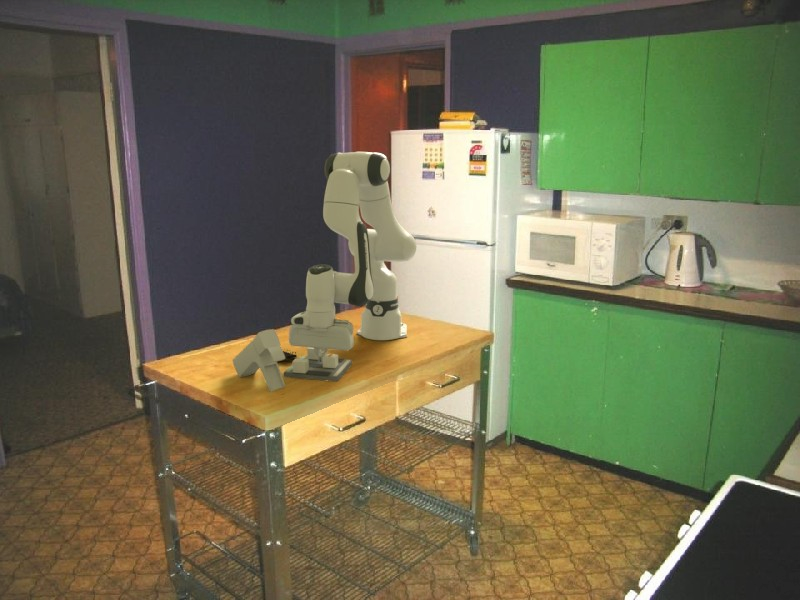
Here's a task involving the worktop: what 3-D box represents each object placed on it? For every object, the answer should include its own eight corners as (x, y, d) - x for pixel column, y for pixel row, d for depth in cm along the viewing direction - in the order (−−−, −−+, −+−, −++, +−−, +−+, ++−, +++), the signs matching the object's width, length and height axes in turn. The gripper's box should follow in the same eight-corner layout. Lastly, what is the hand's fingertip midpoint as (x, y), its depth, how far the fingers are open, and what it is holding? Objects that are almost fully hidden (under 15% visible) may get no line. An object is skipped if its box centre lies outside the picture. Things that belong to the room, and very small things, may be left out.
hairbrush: (270, 335, 236) (302, 350, 215) (271, 345, 236) (302, 361, 216) (248, 339, 231) (278, 355, 211) (249, 349, 232) (279, 366, 211)
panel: (302, 360, 218) (302, 355, 217) (352, 364, 214) (352, 359, 214) (283, 377, 202) (283, 372, 201) (337, 381, 198) (336, 376, 198)
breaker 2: (310, 356, 216) (310, 345, 215) (322, 357, 215) (322, 346, 215) (307, 358, 213) (307, 348, 213) (319, 359, 213) (319, 349, 212)
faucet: (249, 355, 207) (275, 326, 193) (269, 402, 203) (297, 376, 189) (231, 359, 203) (256, 330, 189) (250, 407, 198) (278, 381, 185)
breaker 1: (296, 369, 204) (296, 358, 203) (308, 370, 203) (308, 359, 202) (292, 372, 201) (292, 361, 200) (305, 373, 200) (305, 362, 199)
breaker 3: (325, 364, 209) (325, 352, 208) (338, 365, 208) (338, 353, 207) (322, 367, 206) (322, 355, 205) (335, 368, 205) (335, 356, 204)
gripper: (356, 318, 205) (356, 360, 208) (294, 313, 209) (295, 355, 212) (350, 323, 199) (350, 367, 202) (286, 318, 203) (287, 361, 206)
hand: (321, 361), depth 207 cm, fingers closed
